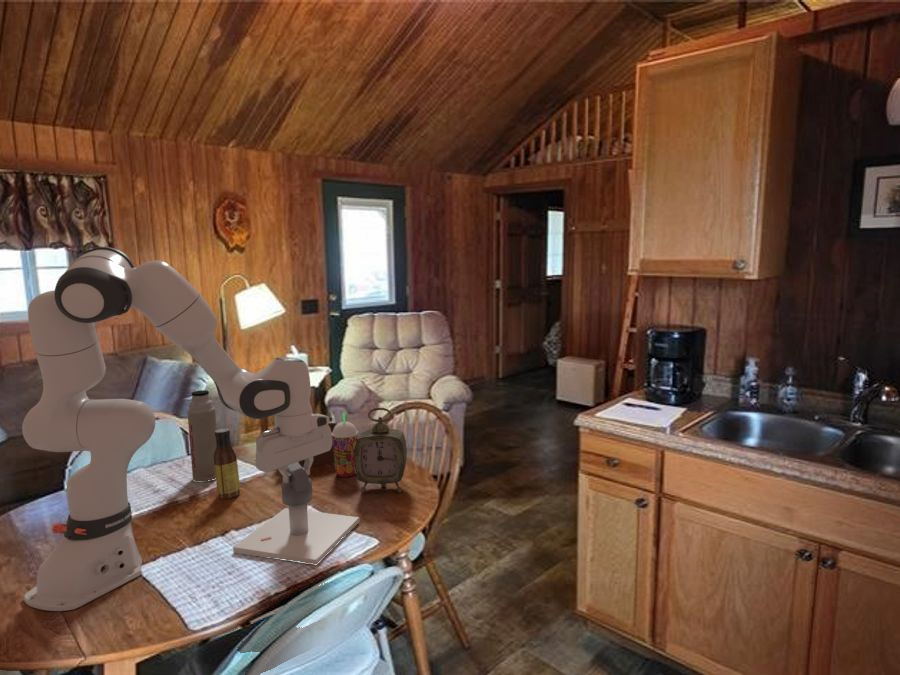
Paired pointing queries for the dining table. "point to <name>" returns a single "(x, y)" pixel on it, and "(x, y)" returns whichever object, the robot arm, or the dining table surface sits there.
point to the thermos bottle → (202, 436)
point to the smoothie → (344, 447)
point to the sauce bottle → (226, 466)
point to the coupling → (297, 487)
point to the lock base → (297, 535)
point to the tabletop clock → (380, 454)
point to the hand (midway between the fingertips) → (296, 478)
